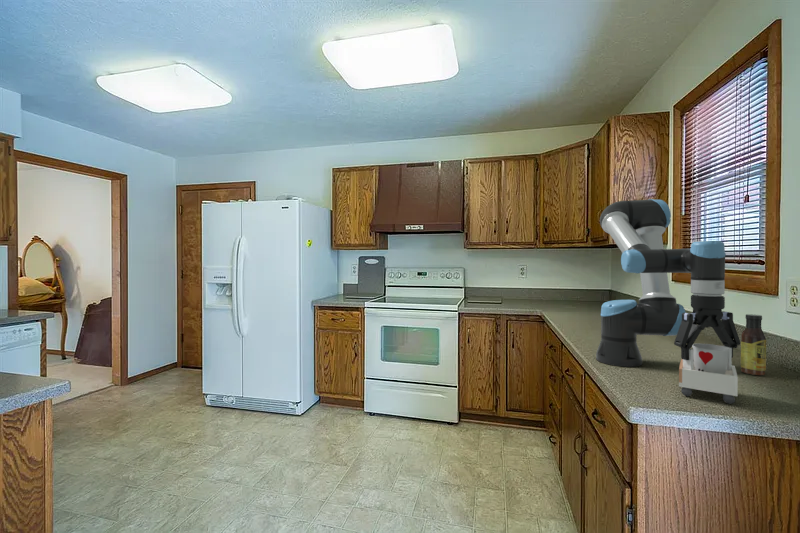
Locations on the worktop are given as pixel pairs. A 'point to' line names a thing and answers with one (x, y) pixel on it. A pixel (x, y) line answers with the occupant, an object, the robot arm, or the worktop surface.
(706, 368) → the cup
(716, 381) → the white open box
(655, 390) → the worktop surface
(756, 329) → the sauce bottle
